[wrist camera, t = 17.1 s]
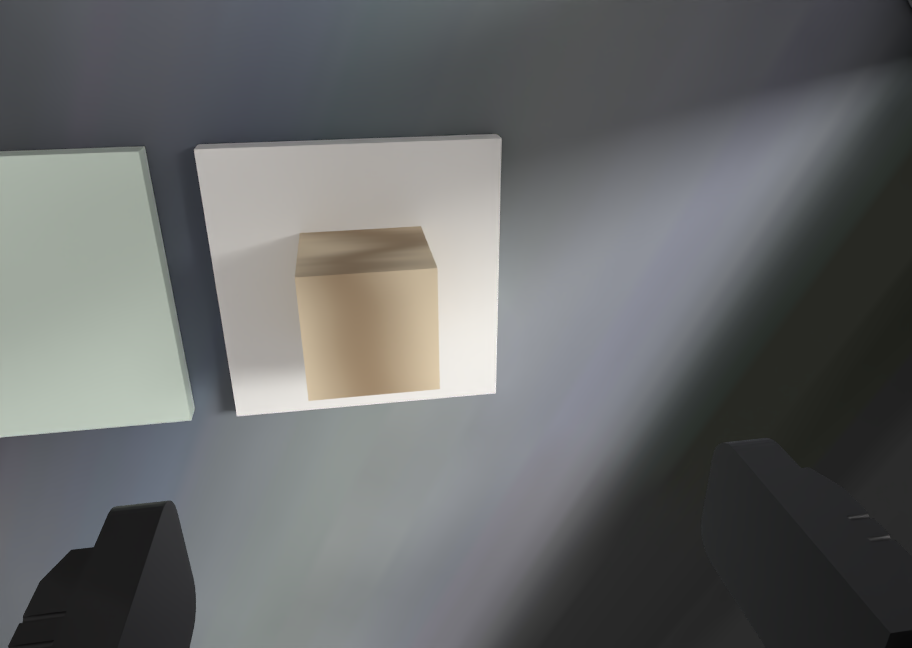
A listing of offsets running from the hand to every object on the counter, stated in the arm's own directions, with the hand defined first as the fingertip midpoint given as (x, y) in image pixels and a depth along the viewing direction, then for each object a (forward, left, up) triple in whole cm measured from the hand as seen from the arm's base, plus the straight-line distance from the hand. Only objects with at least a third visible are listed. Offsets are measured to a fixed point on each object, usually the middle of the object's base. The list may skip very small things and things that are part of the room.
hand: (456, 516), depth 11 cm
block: (+1, +4, -20) cm, 21 cm away
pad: (+1, +4, -21) cm, 22 cm away
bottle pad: (+15, +4, -21) cm, 26 cm away
